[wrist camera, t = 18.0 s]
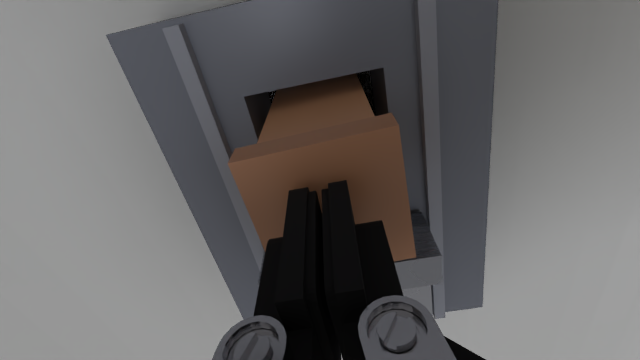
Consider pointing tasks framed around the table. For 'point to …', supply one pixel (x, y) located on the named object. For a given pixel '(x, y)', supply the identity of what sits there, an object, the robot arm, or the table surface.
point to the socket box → (311, 66)
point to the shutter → (418, 265)
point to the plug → (326, 159)
